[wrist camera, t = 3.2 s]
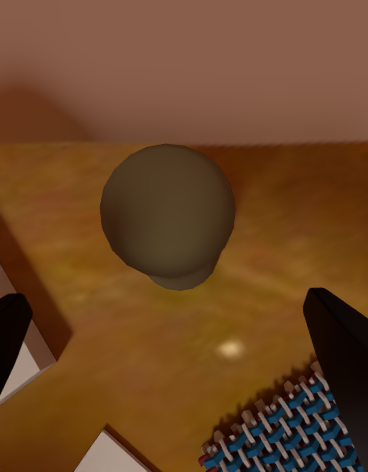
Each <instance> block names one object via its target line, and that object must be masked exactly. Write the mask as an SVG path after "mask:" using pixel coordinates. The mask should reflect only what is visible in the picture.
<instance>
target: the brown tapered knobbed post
mask: <svg viewBox="0 0 368 472" xmlns="http://www.w3.org/2000/svg"><path fill="white" fill-rule="evenodd" d="M100 214H101V223H102V228H103V231H104V234H105V236H106V238H107V240H108V242H109V244H110V246H111V248H112V250H113V251H114V252H115V253H116V254H117V255H118V256H119V257H120V258H121V259H122V260H123V261H124V262H125V263H126V264H127V265H128V266H130V267H132V268H134V269H136V270H138V271H140V272H142V273H144V274H146V275H148V276H149V277H150V278H151V279H152V280H153V281H154V282H155V283H156V284H158V285H160V286H162V287H164V288H166V289H171V290H178V291H181V290H186V289H192V288H194V287H196V286H198V285H200V284H201V283H203V282H204V281H205V280H206V279H207V278H208V277H209V276H210V275H211V274H212V273H213V270H214V268H215V266H216V264H217V262H218V254H219V253H220V252H221V251H222V250H223V249H224V248H225V246H226V244H227V241H228V239H229V237H230V235H231V233H232V230H233V228H234V219H235V203H234V198H233V194H232V190H231V186H230V183H229V181H228V180H227V178H226V176H225V175H224V173H223V172H222V170H221V168H220V167H219V166H218V165H217V164H216V163H214V162H213V161H212V160H211V159H210V158H208V157H207V156H206V155H205V154H203V153H200V152H198V151H196V150H193V149H191V148H188V147H186V146H181V145H172V144H161V145H156V146H150V147H146V148H144V149H142V150H140V151H138V152H136V153H134V154H132V155H130V156H129V157H128V158H126V159H125V160H124V161H123V162H122V163H121V164H120V165H119V166H118V167H117V168H116V169H115V170H114V171H113V173H112V175H111V176H110V178H109V180H108V181H107V183H106V185H105V186H104V190H103V194H102V199H101V203H100Z"/></svg>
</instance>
